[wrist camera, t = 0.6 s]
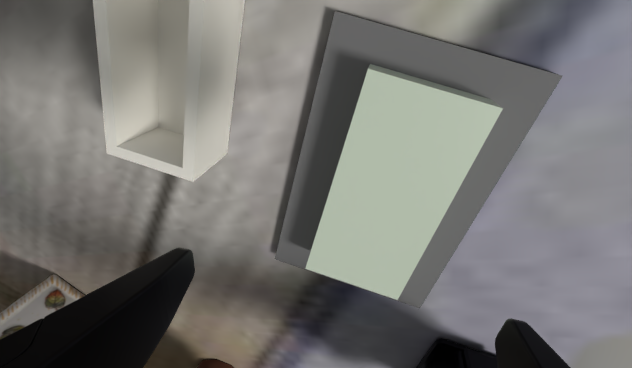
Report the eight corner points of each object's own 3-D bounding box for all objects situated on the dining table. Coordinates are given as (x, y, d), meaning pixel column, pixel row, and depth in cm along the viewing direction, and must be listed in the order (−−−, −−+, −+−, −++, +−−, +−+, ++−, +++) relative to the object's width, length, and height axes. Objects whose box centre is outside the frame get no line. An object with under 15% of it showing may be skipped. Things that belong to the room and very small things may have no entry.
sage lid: (396, 279, 24) (397, 300, 22) (311, 250, 24) (305, 268, 23) (491, 99, 17) (503, 108, 15) (370, 63, 18) (367, 68, 16)
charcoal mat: (419, 302, 25) (419, 308, 25) (277, 254, 26) (274, 259, 25) (557, 74, 16) (562, 75, 16) (336, 11, 17) (334, 10, 17)
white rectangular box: (227, 153, 23) (193, 181, 19) (154, 130, 23) (106, 153, 19) (247, -26, 17) (206, -39, 13) (153, -52, 18) (86, -73, 14)
